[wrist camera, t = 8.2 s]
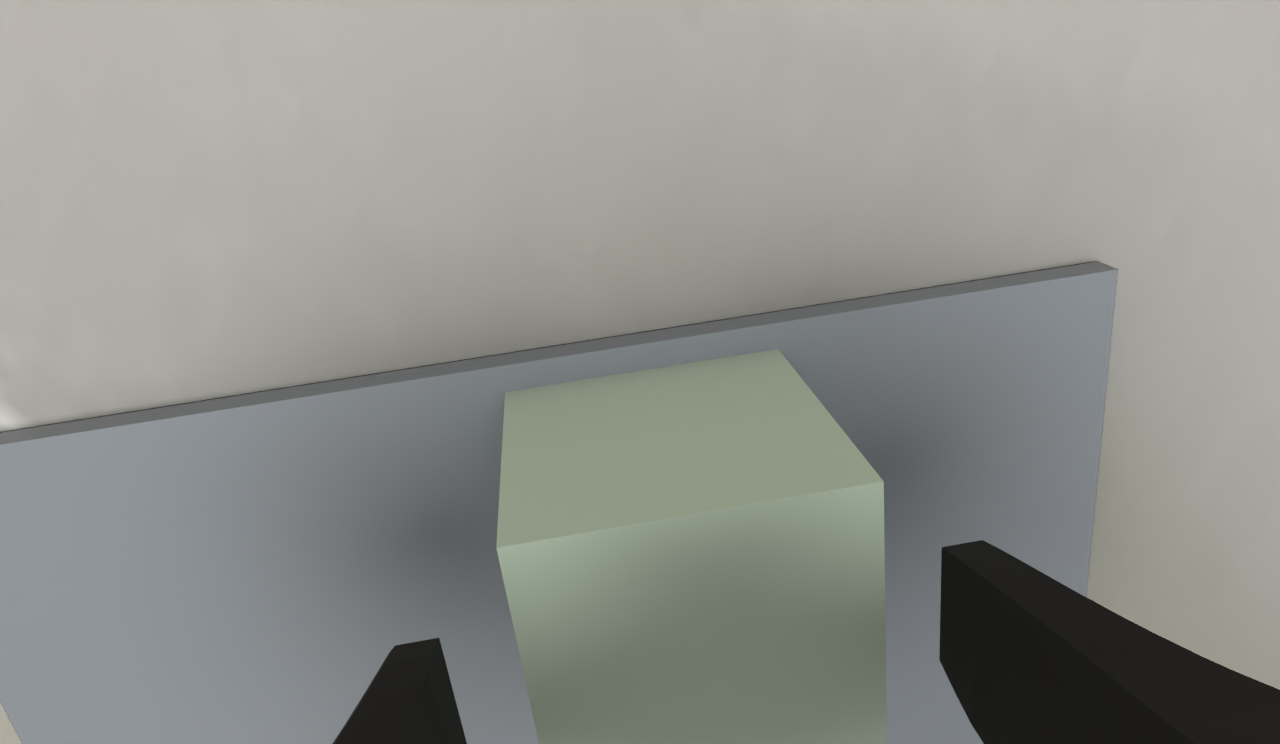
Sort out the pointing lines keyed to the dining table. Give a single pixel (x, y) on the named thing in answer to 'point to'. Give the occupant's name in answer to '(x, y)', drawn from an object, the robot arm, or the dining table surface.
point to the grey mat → (468, 515)
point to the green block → (693, 559)
